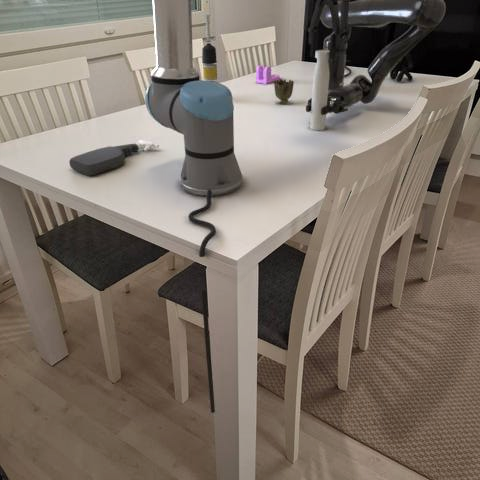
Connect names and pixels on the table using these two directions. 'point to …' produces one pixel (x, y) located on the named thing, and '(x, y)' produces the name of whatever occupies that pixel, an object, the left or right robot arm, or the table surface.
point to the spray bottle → (106, 157)
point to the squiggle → (404, 70)
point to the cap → (322, 54)
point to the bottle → (319, 94)
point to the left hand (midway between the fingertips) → (322, 57)
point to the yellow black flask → (209, 57)
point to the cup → (283, 90)
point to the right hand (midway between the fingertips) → (314, 110)
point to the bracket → (265, 75)
